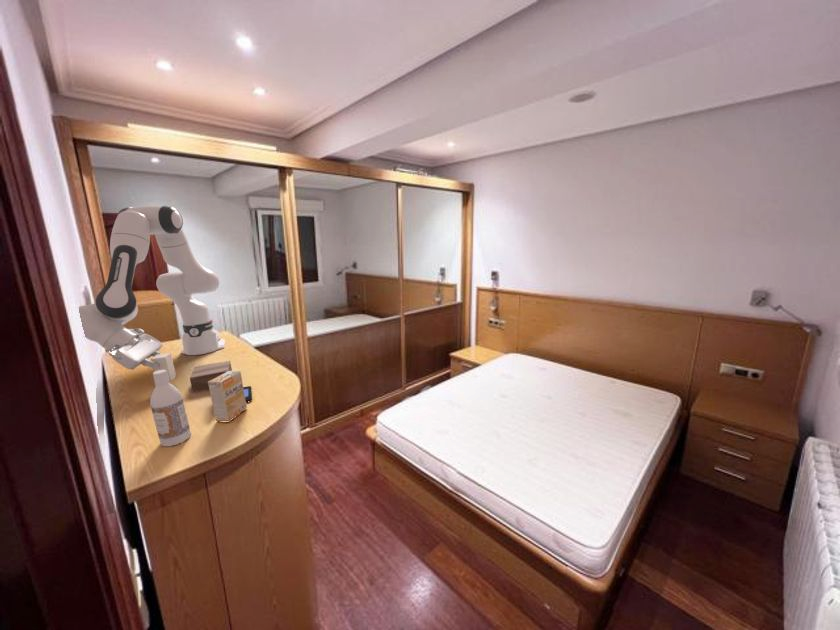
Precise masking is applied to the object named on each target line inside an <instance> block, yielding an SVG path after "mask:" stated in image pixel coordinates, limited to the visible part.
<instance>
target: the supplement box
mask: <svg viewBox="0 0 840 630" xmlns="http://www.w3.org/2000/svg"><path fill="white" fill-rule="evenodd" d="M208 385H209V390H208V391H209V394H210V398H211V404H212V408H213V412H214V417H215V422H216V421H230V420H231V419H232V418H234V417H235V416H237V415H238V414H239V413H241V412H242V411H244V410H245V409H246V408H247V409H248V407H247V403H246V400H245V394H244V389H243V387H244V386H243V385H244V384H243V378H242V371H241V370H232V371H227V372H225V373H224V374H222V375H220V376H218V377H216V378H214V379H212V380H210V381H208ZM245 411H246V410H245ZM245 411H244V412H245ZM242 413H243V412H242ZM242 413H241V414H242ZM239 415H240V414H239ZM239 415H238V416H239ZM238 416H237V417H238ZM235 418H236V417H235ZM235 418H234V419H235ZM230 422H231V421H230Z"/></svg>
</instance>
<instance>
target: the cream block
mask: <svg viewBox="0 0 840 630" xmlns="http://www.w3.org/2000/svg"><path fill="white" fill-rule="evenodd" d="M150 358H151V359H150V361H152V362H157V363H159V364H160V366H159V367H158V368H157V369H153V373H154V372H155V371H158V370H166V371H167V375H168V379H169V382H170V381H172V380H173V379H175V377H177V374H176V369H175V366H174V361H173V358H172V353H171V352H168V353H167V352H165V353H161V354H158V355H155V356H154V357H153V356H152V357H150Z"/></svg>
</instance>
